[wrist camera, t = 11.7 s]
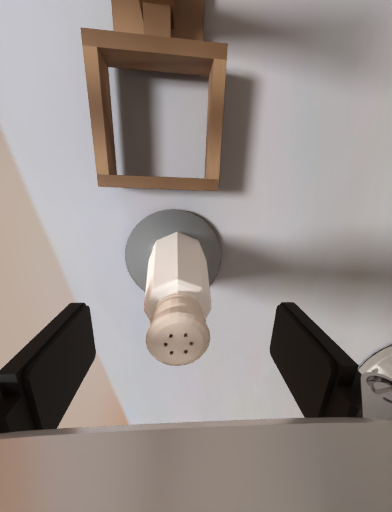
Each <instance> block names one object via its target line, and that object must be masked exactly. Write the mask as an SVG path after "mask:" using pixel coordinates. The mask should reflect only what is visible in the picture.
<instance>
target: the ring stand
mask: <svg viewBox="0 0 392 512" xmlns="http://www.w3.org/2000/svg"><path fill="white" fill-rule="evenodd" d="M111 2H112V15H113V29H114V31H107V30H98V29H89V28H81V36H82V45H83V54H84V63H85V72H86V81H87V90H88V99H89V108H90V117H91V126H92V135H93V144H94V153H95V162H96V171H97V180H98V186H100V187H123V188H150V189H178V190H205V191H218V185H219V170H220V154H221V139H222V123H223V108H224V92H225V77H226V62H227V46H228V44H227V43H218V42H208V41H203V31H204V3H205V0H111ZM108 67H115V68H126V69H137V70H147V71H158V72H169V73H180V74H191V75H202V76H209V90H208V113H207V136H206V158H205V179H199V178H175V177H151V176H127V175H117V170H116V158H115V146H114V134H113V122H112V110H111V97H110V85H109V73H108Z"/></svg>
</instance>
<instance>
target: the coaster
mask: <svg viewBox="0 0 392 512" xmlns="http://www.w3.org/2000/svg"><path fill="white" fill-rule="evenodd" d="M175 232H179V233H182V234H184V235H187V236H189V237H192V238H194V239H197V240H199V243H200V245H201V248H202V250H203V253H204V255H205V258H206V261H207V270H208V279H209V285H210V284H211V282H212V281H213V280H214V278H215V276H216V274H217V272H218V270H219V266H220V262H221V249H220V244H219V241H218V238H217V236H216V234H215V233H214V231H213V230H212V228H211V227H210V226H209V225H208V224H207V223H206V222H205V221H204V220H203V219H201V218H200V217H198V216H197V215H195V214H193V213H190V212H187V211H183V210H176V209H170V210H163V211H159V212H156V213H153V214H151V215H149V216H148V217H146V218H145V219H143V220H142V221H141V222H140V223H139V224H138V225H137V226H136V227H135V228H134V229H133V231H132V233H131V234H130V236H129V238H128V241H127V244H126V250H125V260H126V265H127V269H128V271H129V274H130V276H131V277H132V279H133V280H134V282H135V283H136V284H137V285H138V286H139V287H140V288H141V289H142V290H144V291H146V281H147V271H148V261H149V258H150V255H151V253H152V250H153V248H154V245H155V242H156V240H159V239H161V238H163V237H166V236H168V235H171V234H173V233H175Z"/></svg>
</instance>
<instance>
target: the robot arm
mask: <svg viewBox="0 0 392 512" xmlns="http://www.w3.org/2000/svg"><path fill="white" fill-rule="evenodd" d="M95 354H96V350H95V343H94V336H93V329H92V322H91V315H90V308H89V306H86V304H85V303H70V304H69V305H68V306H67V307H66V308H65V309H64V310H63V311H62V312H61V313H59V315H57V316H56V317H55V318H54V319H53V320H52V321H51V322H50V323H49V324H48V325H47V326H46V327H45V328H44V329H43V330H42V331H41V332H40V333H39V334H37V335H36V336H35V337H34V338H33V339H32V340H31V341H30V342H29V343H28V344H27V345H26V346H25V347H24V348H23V349H22V350H21V351H20V352H19V353H18V354H16V355H15V357H13V358H12V359H11V360H10V361H9V362H8V363H7V364H6V365H5V366H4V367H3V368H2V369H1V370H0V512H392V346H390V347H388V348H385V349H383V350H381V351H380V352H378V353H376V354H375V355H373V356H372V357H371V358H370V359H368V360H367V361H366V362H365V363H364V364H363V365H362V366H361V367H360V368H359V370H357V369H358V366H359V365H358V364H357V363H356V362H355V361H353V360H352V359H351V358H350V357H349V356H348V355H347V354H346V353H345V352H344V351H343V350H342V349H341V348H340V347H339V346H338V345H337V344H336V343H335V342H334V341H333V340H332V339H331V338H330V337H329V336H328V335H327V334H326V333H325V332H324V331H323V330H322V329H321V328H320V327H319V326H318V325H317V324H315V323H314V322H313V321H312V320H311V319H310V318H309V317H308V316H307V315H306V314H305V313H304V312H303V311H302V310H301V309H300V308H299V307H298V306H297V305H296V304H295V303H293V302H282V303H281V304H280V305H278V306H277V309H276V315H275V321H274V327H273V333H272V339H271V344H270V354H271V357H272V358H273V360H274V362H275V364H276V366H277V368H278V369H279V371H280V373H281V375H282V377H283V379H284V380H285V382H286V384H287V386H288V388H289V390H290V391H291V393H292V395H293V397H294V399H295V401H296V402H297V404H298V406H299V408H300V410H301V412H302V413H303V415H304V417H305V418H287V419H260V420H232V421H208V422H184V423H161V424H139V425H119V426H99V427H78V428H62V429H57V427H58V425H59V423H60V421H61V420H62V418H63V415H64V414H65V412H66V410H67V409H68V407H69V405H70V403H71V401H72V399H73V397H74V396H75V394H76V392H77V390H78V388H79V386H80V385H81V383H82V381H83V379H84V377H85V375H86V374H87V372H88V370H89V368H90V366H91V364H92V362H93V361H94V358H95Z"/></svg>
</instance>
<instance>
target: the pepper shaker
mask: <svg viewBox="0 0 392 512" xmlns="http://www.w3.org/2000/svg"><path fill="white" fill-rule="evenodd" d="M210 310H211V296H210V287H209V279H208V270H207V261H206V258H205V255H204V253H203V250H202V248H201V245H200V243H199V240H197V239H194V238H192V237H189V236H187V235H184V234H182V233H179V232H175V233H173V234H171V235H168V236H166V237H163V238H161V239H159V240H156V242H155V245H154V248H153V250H152V253H151V255H150V258H149V261H148V271H147V281H146V291H145V301H144V311H145V313H146V315H147V316H148V318H149V320H150V326H149V329H148V331H147V334H146V344H147V348H148V350H149V352H150V353H151V355H152V356H153V357H155V358H156V359H157V360H158V361H160V362H162V363H164V364H167V365H171V366H181V365H187V364H189V363H192V362H194V361H195V360H197V359H198V358H200V357H201V356H202V355H203V354H204V352H205V351H206V350H207V348H208V346H209V342H210V332H209V329H208V326H207V324H206V318H207V316H208V314H209V312H210Z"/></svg>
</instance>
